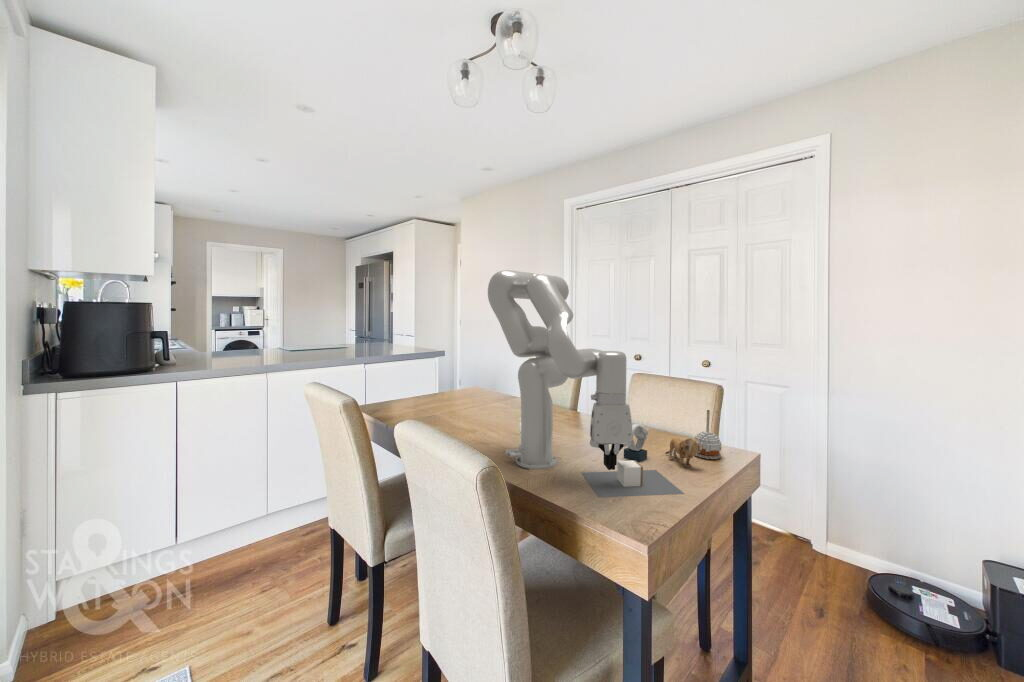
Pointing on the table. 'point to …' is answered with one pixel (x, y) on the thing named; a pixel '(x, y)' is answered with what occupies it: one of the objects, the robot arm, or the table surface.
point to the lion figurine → (684, 450)
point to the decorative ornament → (708, 443)
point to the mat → (611, 487)
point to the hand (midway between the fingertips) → (610, 467)
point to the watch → (637, 444)
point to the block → (630, 473)
